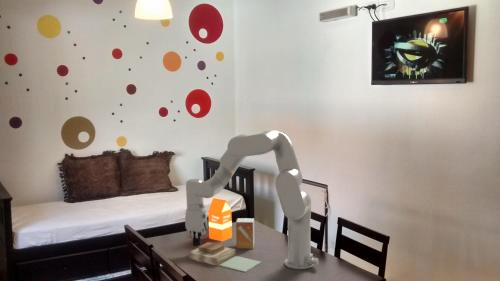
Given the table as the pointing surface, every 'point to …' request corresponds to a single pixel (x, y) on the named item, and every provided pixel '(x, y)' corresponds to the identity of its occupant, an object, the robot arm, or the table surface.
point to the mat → (240, 263)
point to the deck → (212, 256)
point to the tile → (211, 248)
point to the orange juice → (220, 220)
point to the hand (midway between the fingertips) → (196, 245)
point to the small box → (245, 233)
